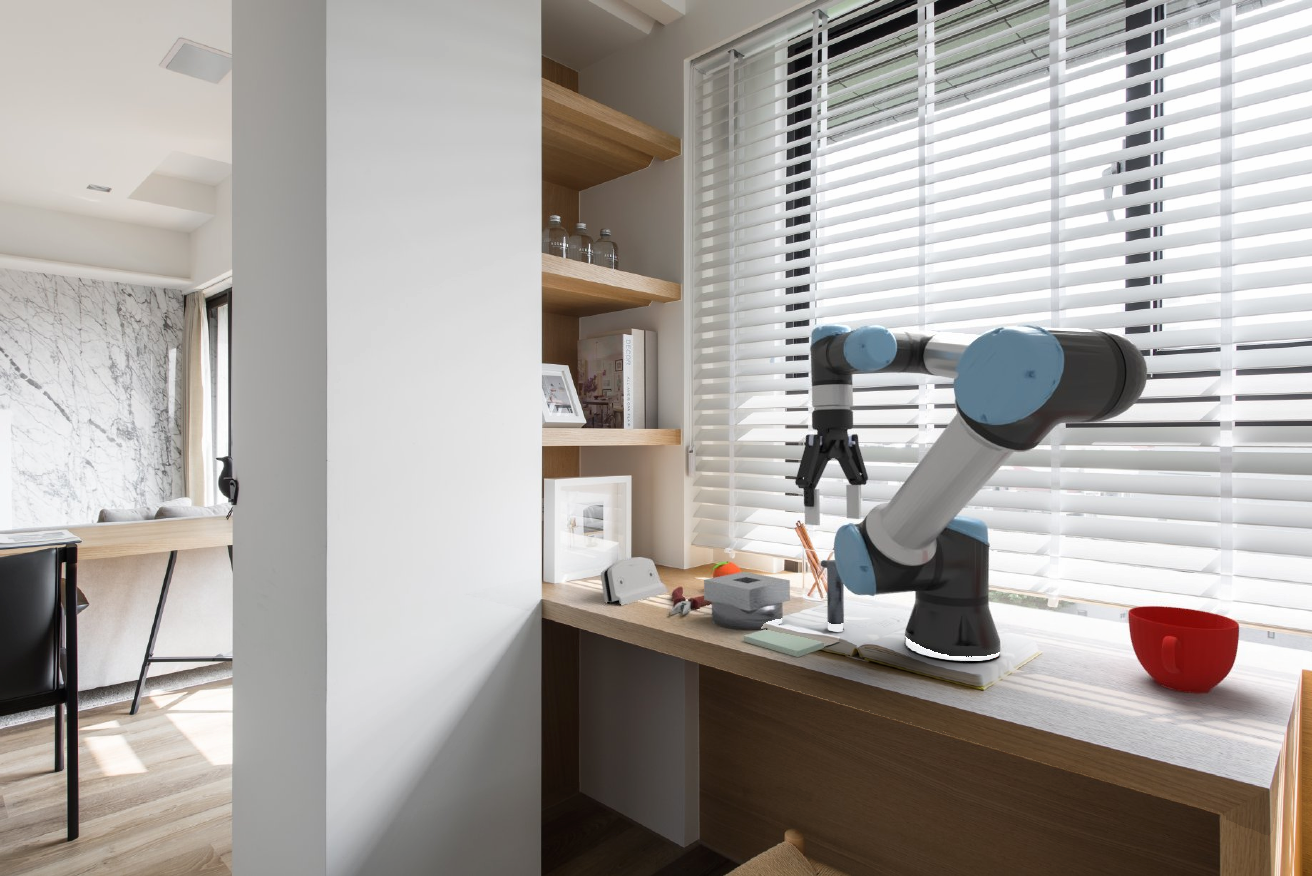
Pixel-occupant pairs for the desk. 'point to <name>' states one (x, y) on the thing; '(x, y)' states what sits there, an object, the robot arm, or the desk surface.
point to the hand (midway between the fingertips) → (833, 521)
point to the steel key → (834, 593)
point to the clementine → (725, 569)
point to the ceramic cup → (1183, 646)
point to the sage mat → (784, 642)
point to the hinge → (631, 581)
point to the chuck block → (746, 599)
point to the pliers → (686, 602)
